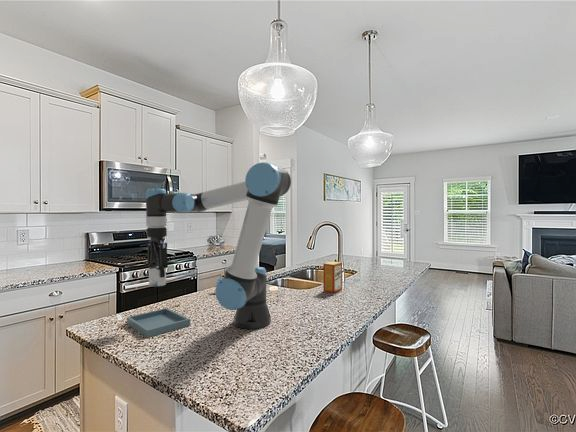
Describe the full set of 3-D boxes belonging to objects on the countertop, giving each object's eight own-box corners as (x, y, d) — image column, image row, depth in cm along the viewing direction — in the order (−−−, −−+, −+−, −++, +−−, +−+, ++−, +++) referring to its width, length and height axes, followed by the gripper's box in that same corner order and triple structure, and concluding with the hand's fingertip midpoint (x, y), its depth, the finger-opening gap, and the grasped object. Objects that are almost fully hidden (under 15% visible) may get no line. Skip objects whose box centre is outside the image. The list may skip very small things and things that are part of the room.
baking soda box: (332, 287, 189) (332, 260, 189) (342, 289, 185) (341, 261, 185) (323, 291, 182) (323, 263, 181) (333, 293, 178) (333, 264, 177)
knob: (168, 284, 131) (168, 266, 131) (153, 287, 127) (152, 269, 126) (161, 282, 136) (161, 264, 136) (146, 284, 131) (146, 266, 131)
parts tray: (190, 325, 130) (190, 319, 130) (147, 337, 118) (147, 330, 118) (166, 313, 145) (166, 307, 145) (126, 323, 133) (126, 317, 133)
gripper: (176, 227, 126) (177, 286, 127) (155, 225, 140) (156, 278, 141) (157, 228, 121) (158, 289, 122) (137, 226, 135) (138, 281, 135)
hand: (157, 283), depth 131 cm, fingers closed on knob, 6 cm apart
